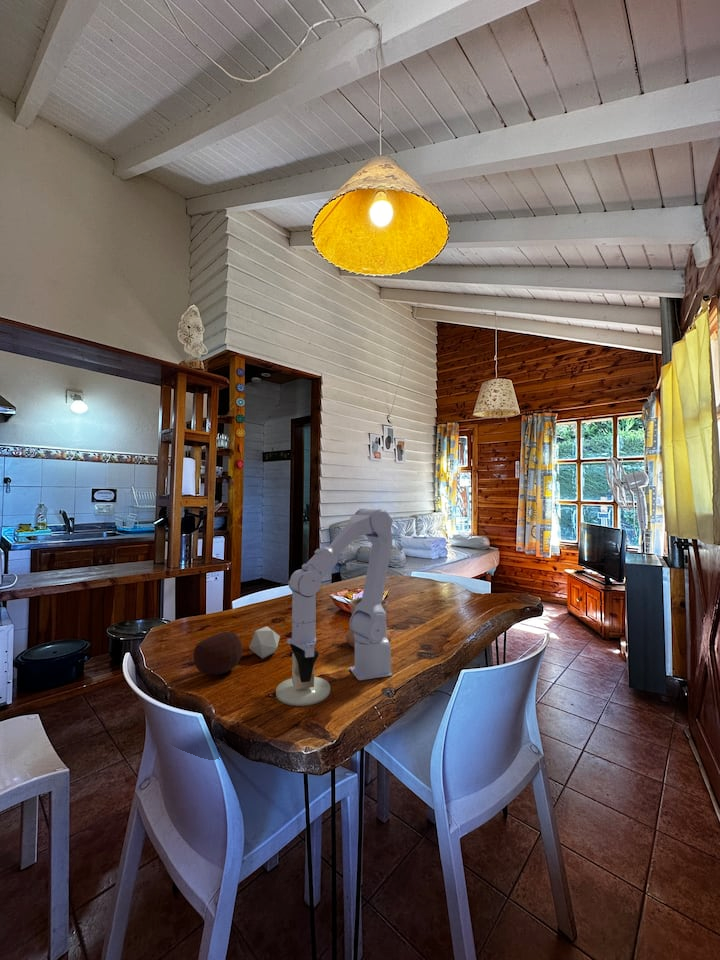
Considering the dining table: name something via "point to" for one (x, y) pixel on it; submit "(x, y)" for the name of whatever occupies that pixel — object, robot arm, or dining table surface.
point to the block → (296, 676)
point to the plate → (302, 693)
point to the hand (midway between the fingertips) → (303, 676)
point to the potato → (218, 653)
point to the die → (264, 642)
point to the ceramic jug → (353, 603)
